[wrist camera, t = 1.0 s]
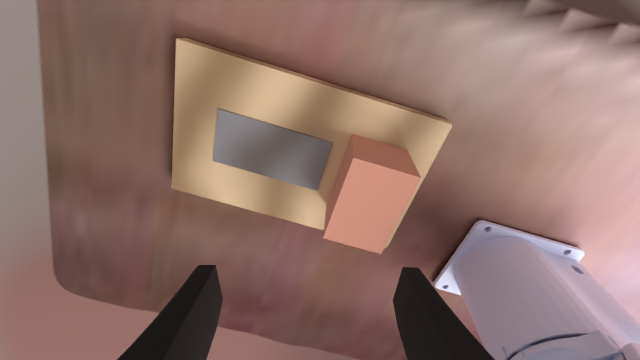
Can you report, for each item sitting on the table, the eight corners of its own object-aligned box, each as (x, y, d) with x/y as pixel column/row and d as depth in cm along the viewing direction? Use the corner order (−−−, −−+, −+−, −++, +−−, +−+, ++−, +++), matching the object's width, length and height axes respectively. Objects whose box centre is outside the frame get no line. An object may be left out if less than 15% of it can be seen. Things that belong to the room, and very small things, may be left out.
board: (447, 119, 19) (453, 125, 18) (385, 238, 25) (387, 248, 23) (186, 37, 18) (175, 38, 17) (179, 181, 23) (170, 189, 22)
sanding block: (407, 150, 19) (421, 177, 16) (375, 218, 22) (381, 254, 19) (351, 133, 19) (353, 157, 16) (326, 204, 22) (322, 238, 18)
